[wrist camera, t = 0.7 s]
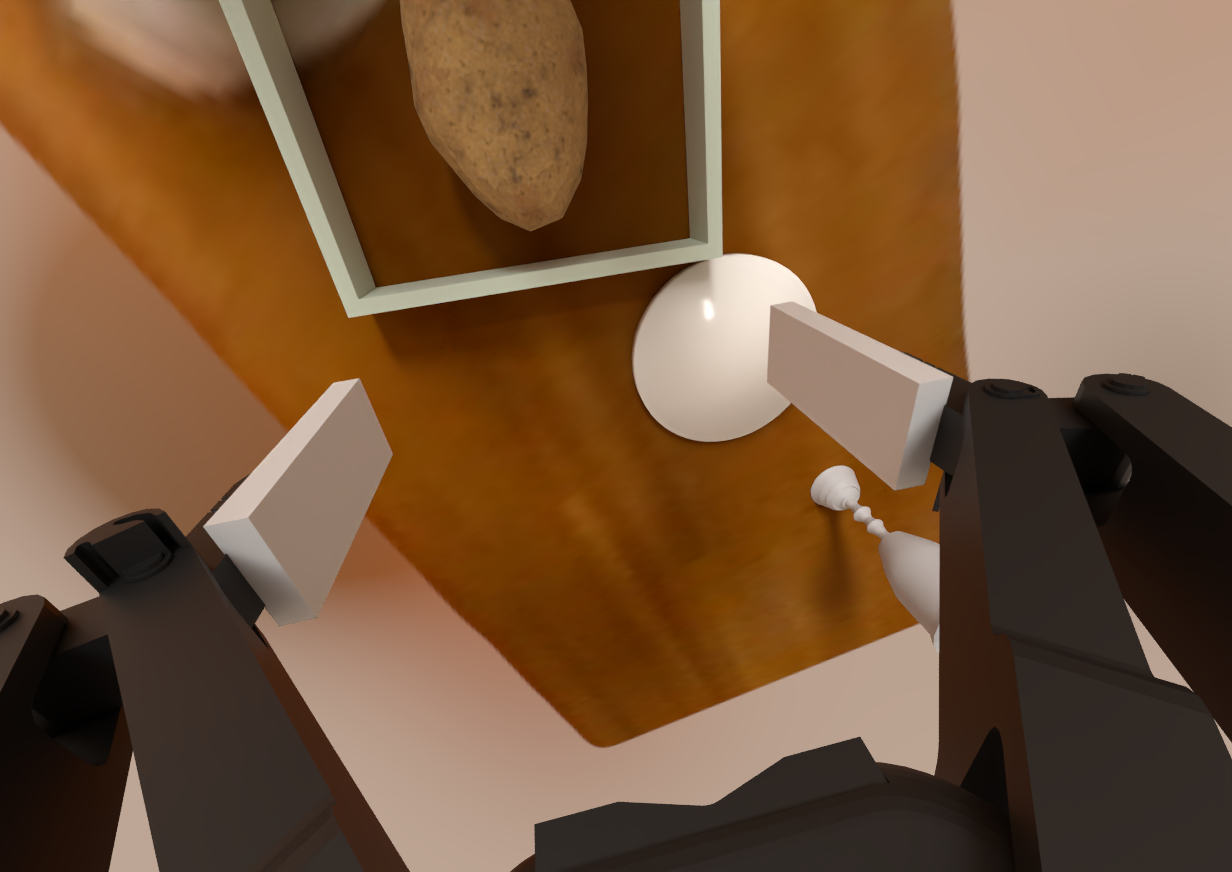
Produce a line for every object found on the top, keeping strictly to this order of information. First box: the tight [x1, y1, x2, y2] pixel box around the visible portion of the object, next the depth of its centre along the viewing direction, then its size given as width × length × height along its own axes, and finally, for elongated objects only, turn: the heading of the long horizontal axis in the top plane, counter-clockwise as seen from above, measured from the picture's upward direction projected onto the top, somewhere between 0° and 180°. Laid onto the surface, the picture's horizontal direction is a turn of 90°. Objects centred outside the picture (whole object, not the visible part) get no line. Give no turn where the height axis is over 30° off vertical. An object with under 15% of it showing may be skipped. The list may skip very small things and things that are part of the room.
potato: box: [400, 0, 588, 231], centre depth 26 cm, size 10×14×8 cm
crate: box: [219, 0, 723, 318], centre depth 27 cm, size 21×25×4 cm
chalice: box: [811, 466, 940, 653], centre depth 41 cm, size 7×7×18 cm
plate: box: [631, 253, 816, 442], centre depth 39 cm, size 16×16×1 cm
